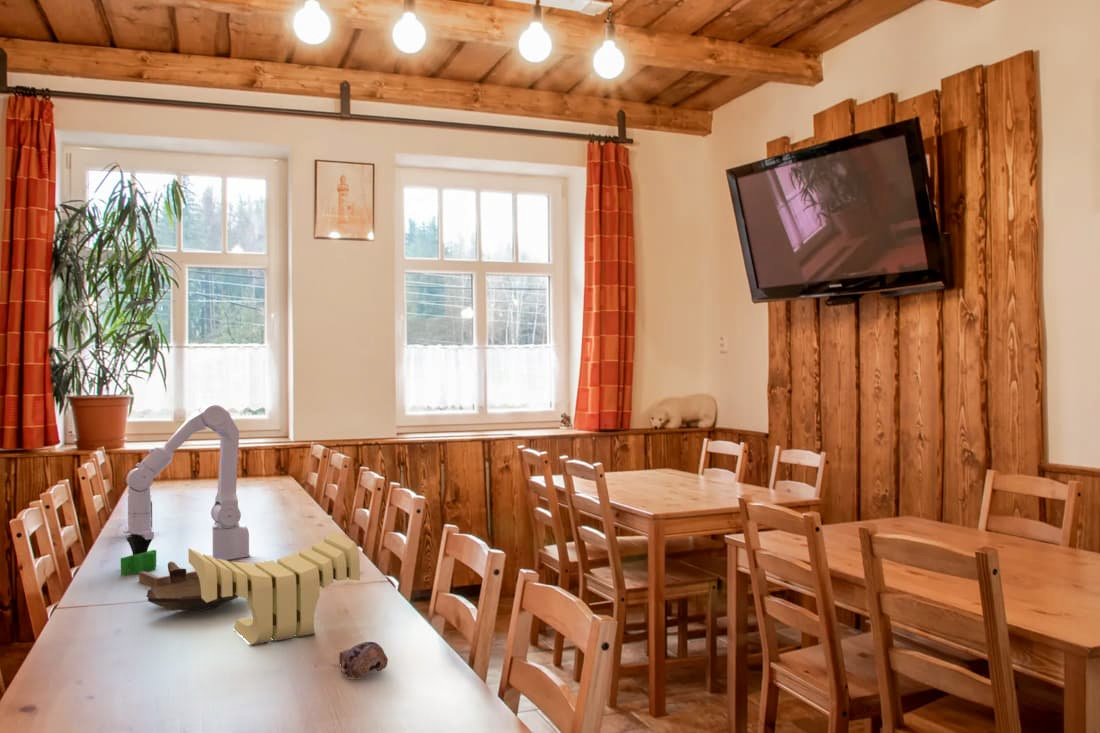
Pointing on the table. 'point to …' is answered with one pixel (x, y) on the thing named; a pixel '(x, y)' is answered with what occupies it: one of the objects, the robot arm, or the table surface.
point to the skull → (362, 659)
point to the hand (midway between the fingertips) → (139, 562)
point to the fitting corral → (162, 579)
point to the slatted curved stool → (279, 586)
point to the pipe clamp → (138, 562)
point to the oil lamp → (183, 593)
